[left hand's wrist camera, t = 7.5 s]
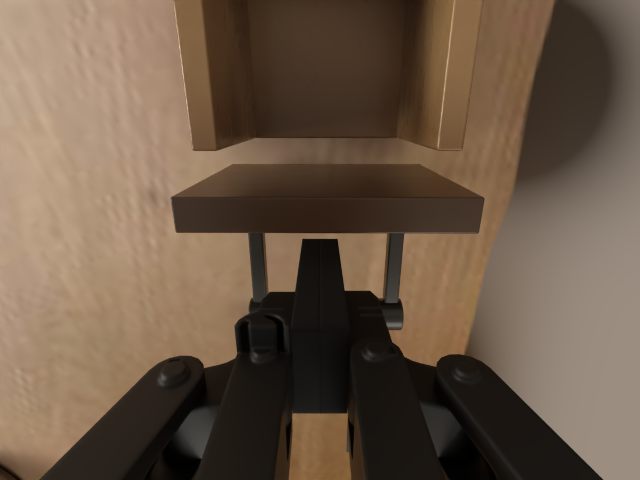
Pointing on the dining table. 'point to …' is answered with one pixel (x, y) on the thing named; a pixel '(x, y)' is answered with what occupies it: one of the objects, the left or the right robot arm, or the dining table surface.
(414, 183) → the drawer
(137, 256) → the dining table surface
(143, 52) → the dining table surface
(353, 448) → the left robot arm
